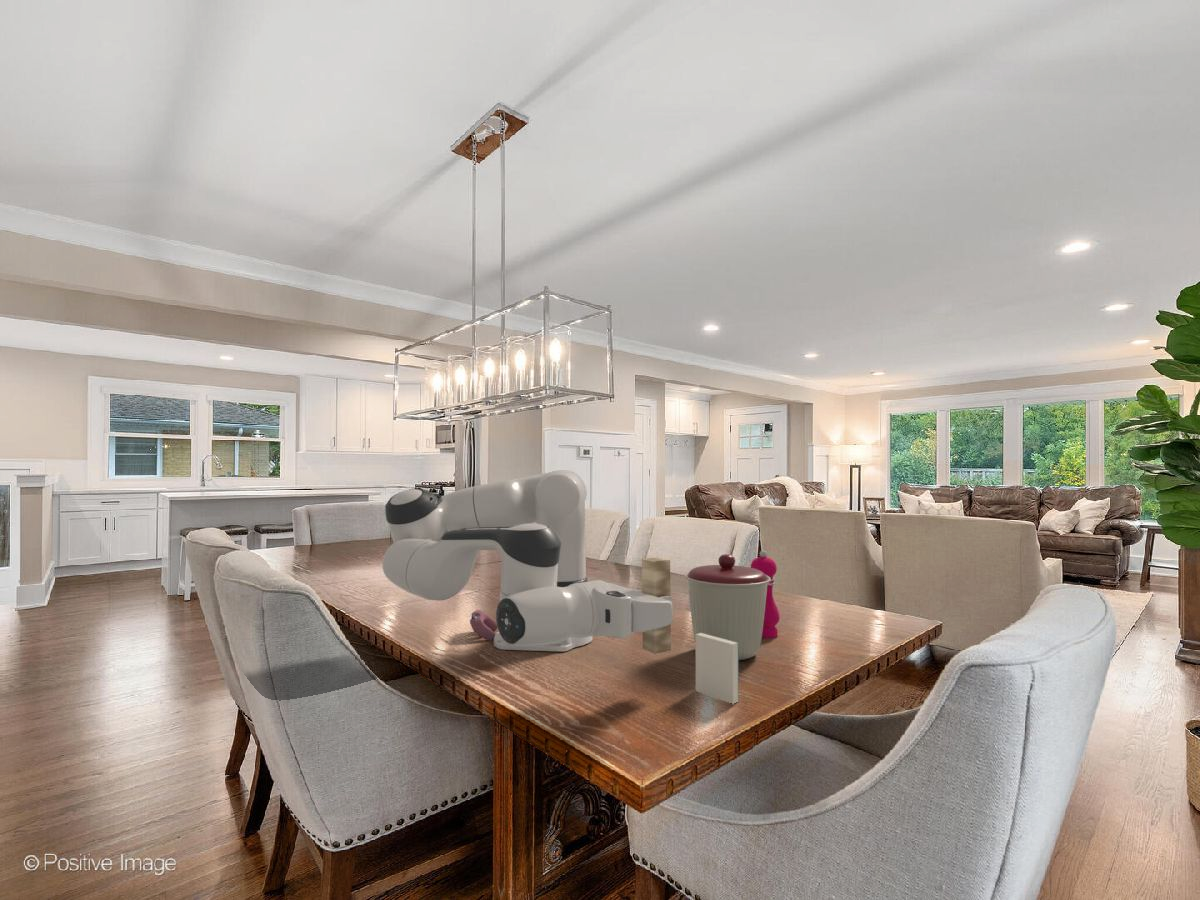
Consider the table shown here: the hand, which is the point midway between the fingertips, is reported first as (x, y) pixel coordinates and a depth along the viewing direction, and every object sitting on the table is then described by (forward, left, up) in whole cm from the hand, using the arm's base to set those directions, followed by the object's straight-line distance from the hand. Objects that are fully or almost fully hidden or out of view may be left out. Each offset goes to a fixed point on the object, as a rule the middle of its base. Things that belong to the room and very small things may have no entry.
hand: (660, 597), depth 106 cm
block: (-1, 0, -9) cm, 9 cm away
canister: (+18, +19, -17) cm, 31 cm away
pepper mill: (+31, +32, -17) cm, 48 cm away
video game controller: (-35, +37, -17) cm, 54 cm away
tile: (+10, -3, -16) cm, 19 cm away
